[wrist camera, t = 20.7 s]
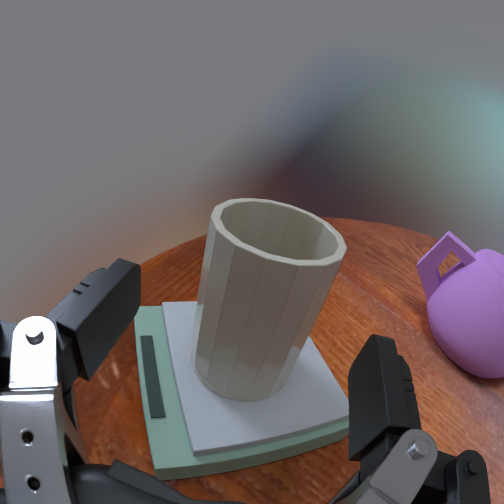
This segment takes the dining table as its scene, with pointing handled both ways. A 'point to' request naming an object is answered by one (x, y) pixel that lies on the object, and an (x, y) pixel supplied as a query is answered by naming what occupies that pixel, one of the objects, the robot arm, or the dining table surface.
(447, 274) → the teapot
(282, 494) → the dining table surface
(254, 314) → the tumbler
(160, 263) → the dining table surface
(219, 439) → the scale
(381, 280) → the dining table surface
